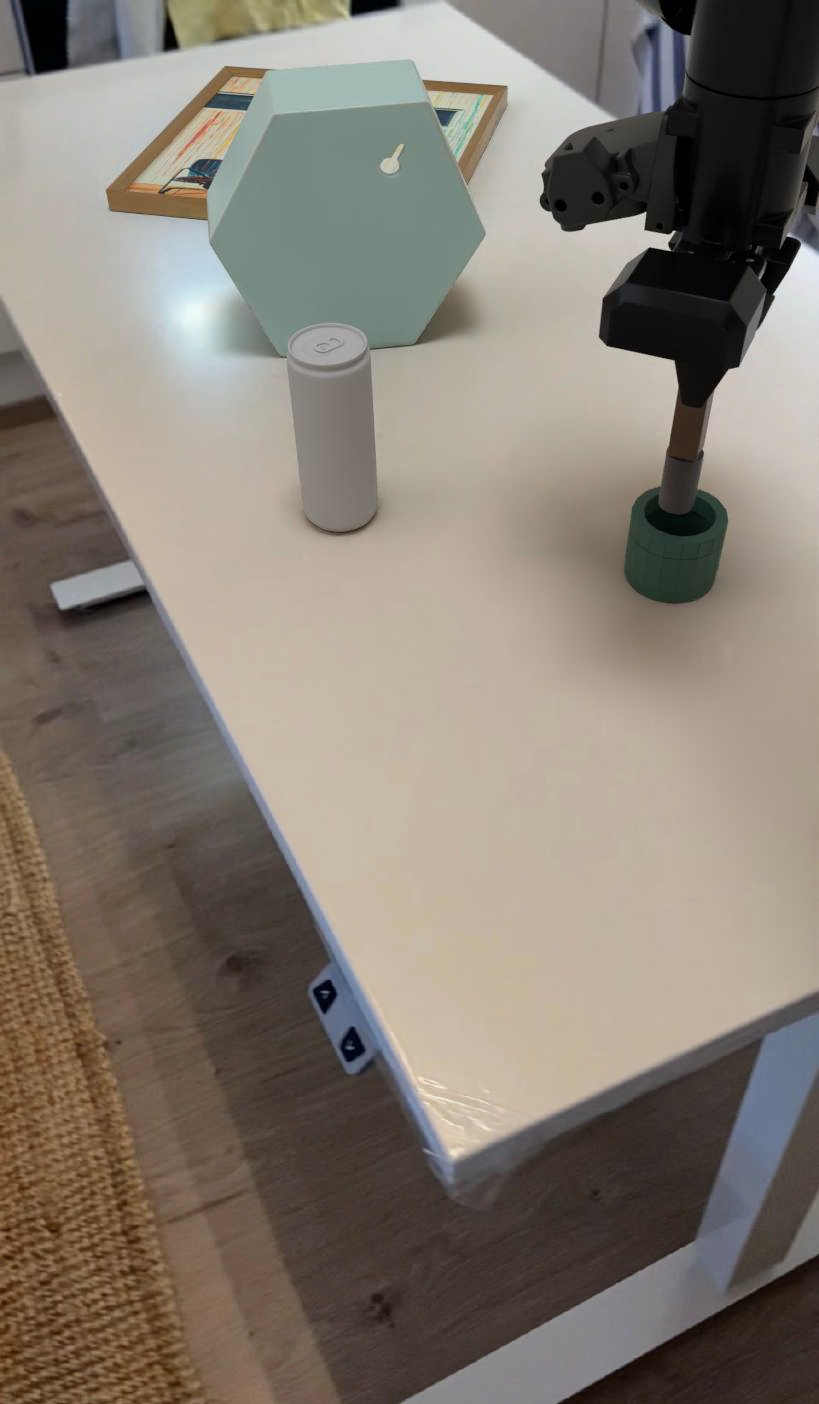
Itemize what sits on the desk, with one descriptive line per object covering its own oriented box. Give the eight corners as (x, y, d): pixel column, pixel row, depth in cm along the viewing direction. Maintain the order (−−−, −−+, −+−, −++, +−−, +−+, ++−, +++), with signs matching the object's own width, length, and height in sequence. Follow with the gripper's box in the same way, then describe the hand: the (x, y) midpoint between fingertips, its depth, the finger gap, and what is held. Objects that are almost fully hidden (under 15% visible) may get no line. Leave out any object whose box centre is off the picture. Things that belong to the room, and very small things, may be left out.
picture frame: (105, 189, 105) (224, 65, 125) (109, 210, 107) (227, 84, 126) (438, 220, 100) (507, 85, 119) (438, 242, 101) (507, 105, 121)
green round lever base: (725, 557, 72) (738, 497, 69) (700, 613, 69) (713, 553, 66) (639, 535, 74) (648, 475, 71) (611, 588, 71) (619, 529, 67)
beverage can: (288, 510, 76) (268, 341, 68) (348, 479, 78) (335, 312, 70) (334, 546, 74) (319, 376, 65) (394, 514, 76) (387, 344, 67)
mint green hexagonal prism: (366, 349, 98) (509, 120, 86) (378, 401, 93) (532, 164, 81) (174, 257, 90) (304, -9, 78) (175, 308, 85) (314, 30, 73)
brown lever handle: (698, 497, 67) (740, 281, 57) (688, 518, 66) (729, 300, 56) (664, 489, 68) (699, 273, 58) (653, 509, 66) (688, 292, 57)
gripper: (637, -16, 58) (606, 283, 70) (492, 128, 47) (483, 458, 58) (870, 11, 55) (797, 321, 66) (776, 174, 43) (707, 514, 55)
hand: (697, 395), depth 62 cm, fingers closed on brown lever handle, 2 cm apart
